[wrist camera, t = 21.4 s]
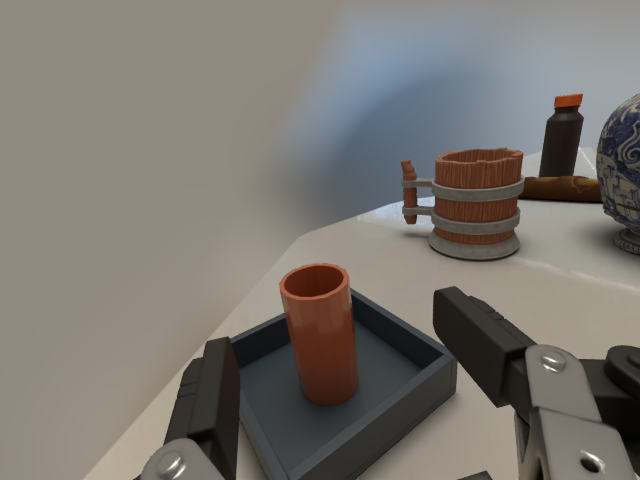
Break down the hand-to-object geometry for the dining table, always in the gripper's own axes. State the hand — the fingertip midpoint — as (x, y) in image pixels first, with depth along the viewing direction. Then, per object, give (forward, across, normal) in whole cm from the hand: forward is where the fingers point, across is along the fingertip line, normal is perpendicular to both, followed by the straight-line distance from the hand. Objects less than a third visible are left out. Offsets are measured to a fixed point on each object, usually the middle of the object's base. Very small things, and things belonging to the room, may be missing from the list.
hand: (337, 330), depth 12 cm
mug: (+36, -29, +17) cm, 49 cm away
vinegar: (+55, -69, +16) cm, 89 cm away
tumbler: (+12, -1, +16) cm, 20 cm away
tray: (+12, -1, +16) cm, 21 cm away
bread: (+44, -59, +16) cm, 76 cm away
